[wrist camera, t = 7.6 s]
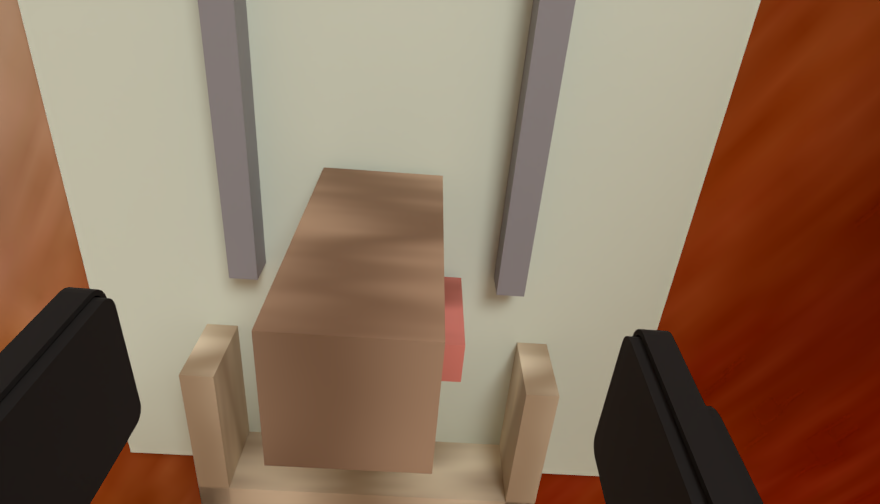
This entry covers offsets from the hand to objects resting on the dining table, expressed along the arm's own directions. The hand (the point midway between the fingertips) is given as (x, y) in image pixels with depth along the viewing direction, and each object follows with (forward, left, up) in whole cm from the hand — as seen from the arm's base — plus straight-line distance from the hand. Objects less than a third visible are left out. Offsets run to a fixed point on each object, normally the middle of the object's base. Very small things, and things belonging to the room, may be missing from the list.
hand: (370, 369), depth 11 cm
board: (+1, +2, -12) cm, 12 cm away
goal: (+1, +11, -11) cm, 15 cm away
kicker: (+1, +3, -10) cm, 11 cm away
